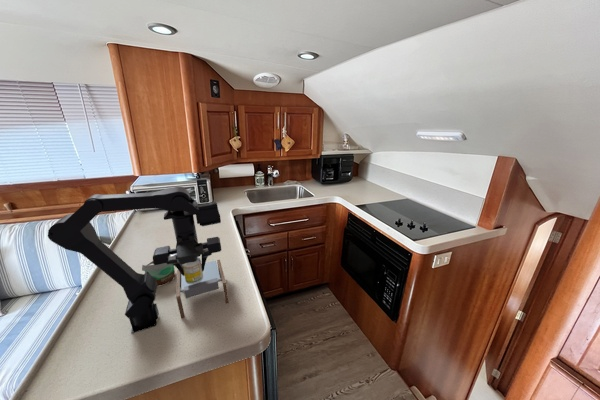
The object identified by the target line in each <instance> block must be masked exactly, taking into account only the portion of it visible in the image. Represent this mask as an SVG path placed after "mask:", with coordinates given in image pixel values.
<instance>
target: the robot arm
mask: <svg viewBox="0 0 600 400" xmlns="http://www.w3.org/2000/svg"><path fill="white" fill-rule="evenodd" d="M146 209H147V210H149V209H157V210H162V211H166V212H165V213H164V215H163V219H164V220H171V221H172V226H173V230H174V235H175V240H176V245H175V248H172V249H171V246H170V245H165V246H160V247H156V248H155V249H154V252H153V255H152V261H153V262H154V265H159V264H163V263H167V264H172V265H174V268H176V269H177V270H179V271H180V273H181V274H182V275H183V276H184V271H183V266H182V264H185V263H189V262H195V261H196V260H197V257H199V258H200V257H201V264H202V271H204V267H205V263H207V259H208V257H210V256H212V255H213V254H216V253H220V252H221V251H222V243H221V239H220V237H219V236H213V237H209V238H206V241H204V242H199V240H198V235H197V229H196V224H195V218H196V223H197V225H199V226H200V227H205V226H206V227H207V226H213V225H216V224H217V225H218V224H221V222H222V221H221V215H220V212H219V211H220V210H219V207H218V203H217V202H216V201H212V202H209V203H204V204H199V203H198V202H197V201H196V200H195V199H193V197H191V195H190V191H188V190H187V189H186V188H185V187H183V186H175V187H170V188H165V189H162V190H158V191H154V192H136V193H135V192H134V193H133V192H132V193H115V194H113V193H112V194H99V193H98V194H97V193H96V194H92V195H91V196H90V197H88V198H87V199H86V200H85V201H84V202H83V204H82V205H81V206H80V207H79V208H78V209H77V210H76V211H75V212H73V213H69V214H66V215H63V217H61V218H59V220H58V221H56V222H55V223H54V224H53V225H51V226H50V227H49V229H48V231H47V237H48V239H49V241H51V242H52V243H53V244H55V245H57V246H60V248H62V249H64V250H67V251H71V252H75V253H78V254H81V255H82V256H83V257H85V258H86V259H87V260H89V261H90V263H92V264H93V265H95V266H96V267H97V268H98V269H99V270H101V271H102V272H103V273H105V274H106V275H107V276H108V277H109V278H111V279H112V280H113V281H114V282H116V283H117V284H118V285H119V286H121V287H122V289H123V291H124V294H125V296H126V298H127V299H128V301H127V306H126V307H125V308H126V309H125V313H124V316H125V317H126V318H127V319H128V320H129V321H130V326H131V330H130V333H131V334H135V333H137V332H140V331H143V330H147V329H150V328H153V327H156V326H157V323H158V319H159V315H160V312H159V308H158V306H157V303H155V301H156V295H157V289H158V288H157V287H158V286H157V282H156V278H154V277H152V276H151V275H150V273H149V272H146V273H145V272H144V274H143V273H138V272H137V271H135V270H134V269H133V267H131V266H130V265H128V263H127V262H126V261H124V259H122V258H121V257H120V256H119V255H118V254H116V253H115V251H113V250H112V249H111V248H110V247H108V246H107V245H106V244H105V243H104V242H102V240H101V239H100V238H99V236H98V234H97V231H96V229H95V227H94V226H93V225H92V223H91V221H92V220H93V219H95V217H96V216H97V215H98V214H99V213H106V212H107V213H109V212H121V211H132V210H146ZM194 215H195V218H194Z"/></svg>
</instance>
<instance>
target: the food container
mask: <svg viewBox="0 0 600 400" xmlns="http://www.w3.org/2000/svg"><path fill="white" fill-rule="evenodd" d="M141 271H143V272H144V274H145V273H146V272H149V273H150V275H151V276H152V277H154V278H156V282H157V287H161V286H164V285H167V284H168V283H171V282H172V281H173V280H174V279H175V277H176V273H175V272H176V271H175V266H174V265H172V264H167V263H163V264H159V265H154V262H153V260H152V261H151V262H149V263H148V264H146V265H145V264H142V267H141Z"/></svg>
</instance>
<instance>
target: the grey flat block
mask: <svg viewBox="0 0 600 400" xmlns="http://www.w3.org/2000/svg"><path fill="white" fill-rule="evenodd" d="M201 266H202V263H201ZM220 282H222V279H221V278H220V275H219V269H218V263H217V260H212V261H208V262H205V267H204V271H203V279H202V280H201V281H200V282H198V283H196V284H188V283H186V280H185V276H183V275H182V274H181V287H180V293H184V297H185V299H189V298H192V297H196V296H200V295H203V294H206V293H210V292H213V291H216V290H220V287H219V283H220Z"/></svg>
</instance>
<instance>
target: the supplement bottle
mask: <svg viewBox="0 0 600 400" xmlns="http://www.w3.org/2000/svg"><path fill="white" fill-rule="evenodd" d="M201 264H202V259H201V257H200V256H199V257H197V260H196V261H195V262H189V263H185V264H182V266H183V271H184V276H185V280H186V283H188V284H196V283H198V282H200V281H201V280H202V279H203V271H202V266H201Z"/></svg>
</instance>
